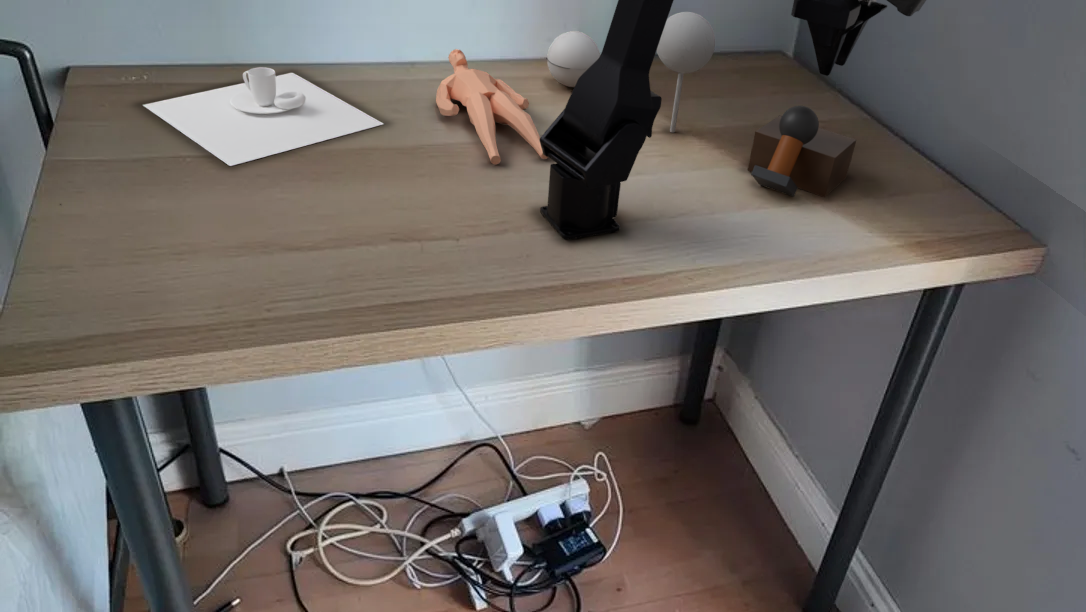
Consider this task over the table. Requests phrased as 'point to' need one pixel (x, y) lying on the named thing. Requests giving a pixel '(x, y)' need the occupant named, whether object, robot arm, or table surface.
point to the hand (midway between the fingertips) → (832, 69)
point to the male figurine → (486, 104)
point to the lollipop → (685, 48)
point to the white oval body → (571, 56)
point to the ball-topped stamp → (788, 149)
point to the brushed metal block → (807, 157)
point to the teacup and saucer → (261, 116)
